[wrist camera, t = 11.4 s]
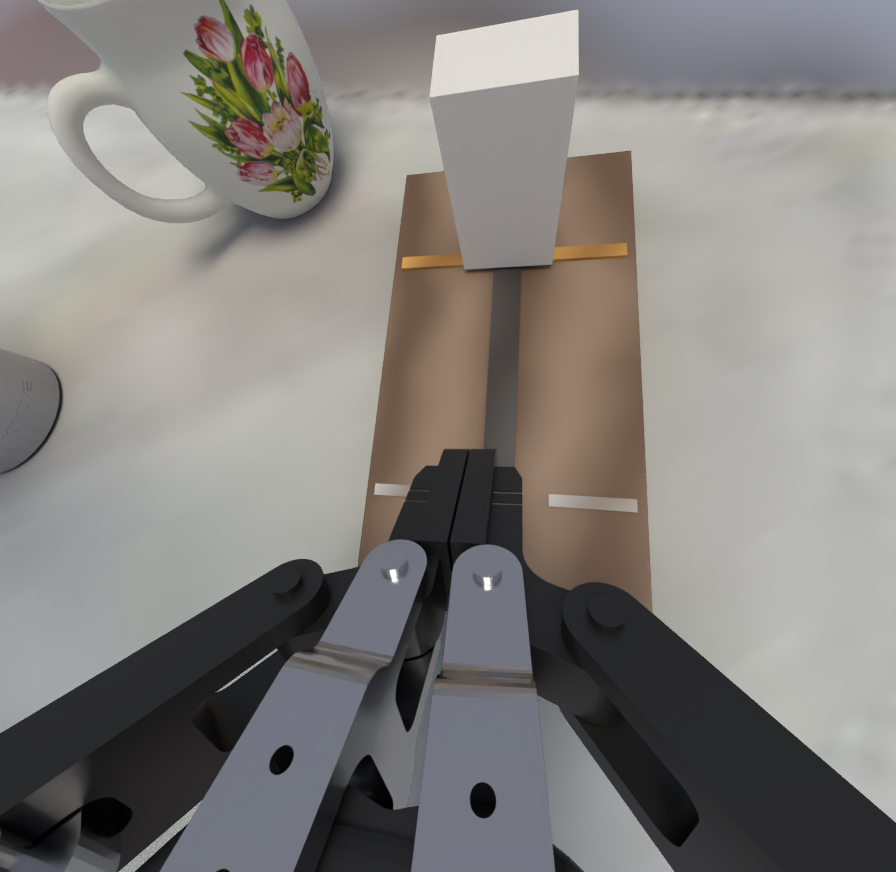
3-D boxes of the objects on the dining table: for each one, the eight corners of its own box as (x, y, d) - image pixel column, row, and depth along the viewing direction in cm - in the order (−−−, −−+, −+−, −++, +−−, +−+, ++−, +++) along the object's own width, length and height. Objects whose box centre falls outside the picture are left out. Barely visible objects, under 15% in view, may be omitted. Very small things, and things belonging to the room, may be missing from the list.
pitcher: (169, 237, 30) (-100, 14, 17) (323, 90, 31) (180, -231, 18) (240, 310, 27) (-25, 105, 14) (409, 144, 28) (312, -199, 15)
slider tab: (464, 269, 21) (429, 97, 13) (467, 226, 22) (436, 35, 13) (552, 264, 20) (578, 74, 12) (553, 219, 21) (578, 9, 12)
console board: (370, 580, 20) (336, 593, 17) (414, 200, 26) (397, 145, 22) (638, 612, 18) (671, 636, 14) (621, 181, 24) (642, 114, 20)
